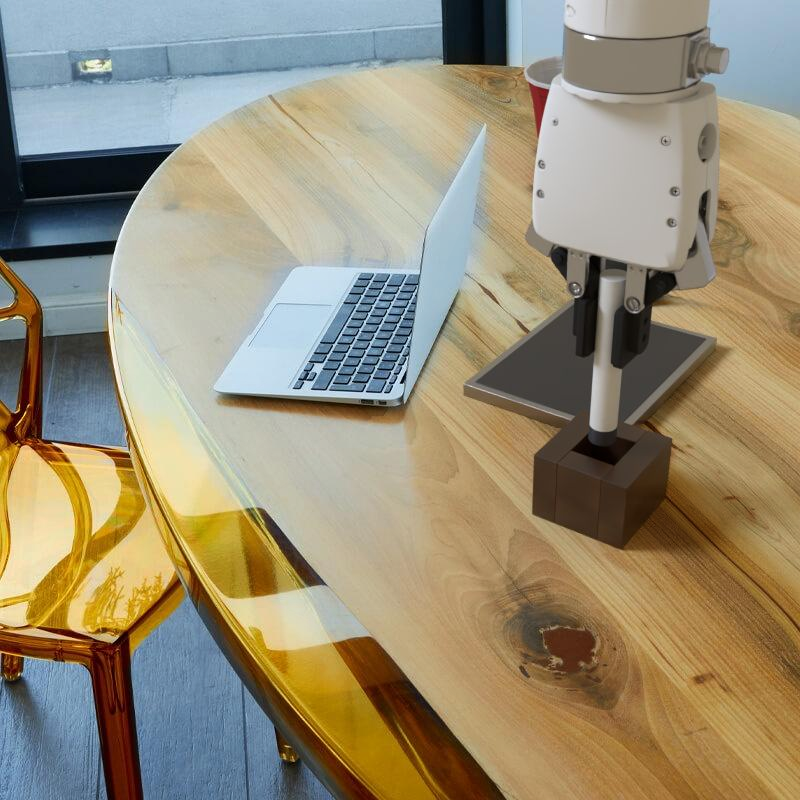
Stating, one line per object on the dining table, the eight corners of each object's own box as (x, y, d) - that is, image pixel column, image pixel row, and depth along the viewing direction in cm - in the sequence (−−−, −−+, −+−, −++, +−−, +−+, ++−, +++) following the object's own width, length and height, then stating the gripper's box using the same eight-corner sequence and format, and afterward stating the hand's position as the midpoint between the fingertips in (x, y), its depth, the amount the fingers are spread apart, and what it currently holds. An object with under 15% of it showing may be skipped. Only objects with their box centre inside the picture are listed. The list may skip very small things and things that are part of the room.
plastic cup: (517, 181, 128) (519, 79, 122) (525, 150, 137) (527, 54, 131) (610, 183, 126) (617, 80, 120) (611, 152, 135) (618, 55, 129)
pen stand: (666, 497, 75) (672, 438, 72) (621, 550, 71) (627, 488, 68) (579, 466, 79) (582, 408, 76) (531, 514, 74) (533, 454, 71)
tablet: (715, 349, 92) (717, 337, 92) (619, 448, 80) (620, 435, 80) (571, 309, 100) (572, 298, 99) (463, 395, 88) (463, 382, 87)
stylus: (621, 436, 72) (635, 272, 65) (608, 449, 70) (621, 283, 64) (596, 428, 73) (608, 265, 66) (583, 441, 71) (594, 276, 65)
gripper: (800, 60, 57) (752, 363, 67) (540, 27, 65) (531, 301, 75) (746, 96, 52) (703, 418, 62) (472, 55, 60) (471, 345, 70)
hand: (609, 352), depth 68 cm, fingers closed on stylus, 1 cm apart
